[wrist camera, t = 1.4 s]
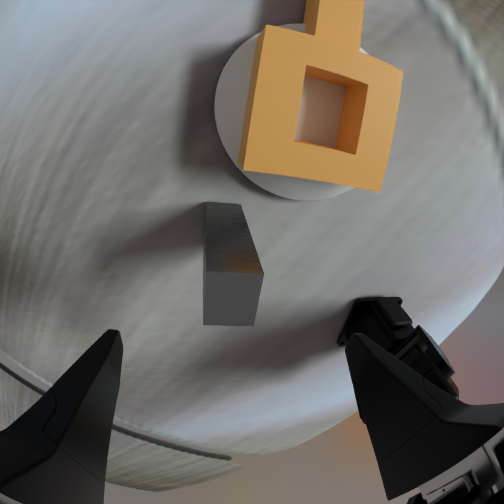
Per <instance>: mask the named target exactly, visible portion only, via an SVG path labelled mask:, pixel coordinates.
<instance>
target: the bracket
mask: <svg viewBox="0 0 504 504" xmlns="http://www.w3.org/2000/svg"><path fill="white" fill-rule="evenodd" d="M363 10H364V0H306V6H305V13H304V19H303V23H302V24H285V25H279V26H272V25H266V26H265V27H264V29H263V30H262V32H260V33H258V34H256V35H254V36H253V37H251V38H250V39H248V40H247V41H245V42H244V43H243V44H242V45H241V46H240V47H239V48H238V49H237V50H236V51H235V52H234V53H233V55H232V56H231V57H230V58H229V60H228V62H227V63H226V65H225V67H224V68H223V70H222V73H221V75H220V78H219V81H218V84H217V89H216V93H215V104H214V111H215V121H216V126H217V130H218V133H219V136H220V139H221V142H222V144H223V146H224V148H225V150H226V152H227V154H228V155H229V157H230V158H231V160H232V161H233V162H234V164H235V165H236V166H237V168H238V169H239V170H240V171H241V172H242V173H243V174H244V175H245V176H246V177H247V178H249V179H250V180H251V181H252V182H253V183H255V184H256V185H258V186H260V187H261V188H263V189H264V190H267V191H269V192H271V193H273V194H275V195H278V196H281V197H284V198H288V199H294V200H302V201H314V200H323V199H328V198H332V197H335V196H338V195H341V194H343V193H345V192H347V191H349V190H351V189H352V188H354V187H356V188H361V189H366V190H371V191H375V192H380V190H381V187H382V183H383V179H384V175H385V171H386V166H387V162H388V158H389V153H390V149H391V144H392V139H393V134H394V129H395V124H396V118H397V112H398V106H399V100H400V93H401V86H402V78H403V71H402V70H400V69H398V68H396V67H394V66H392V65H390V64H387V63H385V62H383V61H381V60H379V59H376V58H374V57H372V56H370V55H368V54H367V53H366V52H365V51H364V50H363V49H362V48H361V47H360V41H361V32H362V22H363Z"/></svg>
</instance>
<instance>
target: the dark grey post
mask: <svg viewBox="0 0 504 504" xmlns="http://www.w3.org/2000/svg"><path fill="white" fill-rule="evenodd" d="M263 276H264V272H263V269H262V266H261V263H260V260H259V257H258V254H257V251H256V248H255V246H254V243H253V240H252V237H251V234H250V231H249V228H248V225H247V222H246V219H245V216H244V213H243V210H242V207H241V205H240V204H228V203H216V202H207V207H206V218H205V231H204V251H203V325H223V326H254V321H255V316H256V311H257V306H258V301H259V296H260V291H261V286H262V281H263Z"/></svg>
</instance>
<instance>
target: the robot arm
mask: <svg viewBox="0 0 504 504" xmlns="http://www.w3.org/2000/svg"><path fill="white" fill-rule="evenodd" d="M359 303H360V304H359ZM401 304H402V299H401V298H400V297H390V298H363V299H357V300H356V301H355V303H354V305H353V307H352V309H351V312H350V314H349V316H348V319H347V321H346V323H345V325H344V327H343V330H342V332H341V334H340V336H339V338H338V340H337V344H338V346H346V348H345V354H346V358H347V362H348V366H349V371H350V375H351V379H352V383H353V387H354V393H355V397H356V401H357V406H358V410H359V415H360V418H361V419H362V421H363V423H364V424H366V426H367V429H368V432H369V435H370V439H371V442H372V445H373V448H374V452H375V455H376V459H377V462H378V466H379V470H380V473H381V477H382V481H383V485H384V488H385V492H386V496H387V499H388V500H391V499H394V498H396V497H398V496H400V495H403V494H405V493H407V492H409V491H411V490H413V489H415V488H417V487H419V490H420V493H418V494H416V495H415V496H413V497H411V498H409V500H408V502H407V504H504V403H499V404H489V405H468V404H466V403H463V402H461V401H460V400H459V390H458V387H457V386H456V384H455V383H454V382H453V380H452V379H451V376H452V375H453V374H454V373H455V371H454V369H453V368H452V366H451V365H450V363H449V361H448V359H447V358H446V356H445V354H444V353H443V351H442V350H441V349H440V347H439V346H438V345H437V343H436V342H435V341H434V340H433V338H432V337H431V336H430V335H429V334H428V333H427V332H426V331H425V330H424V329H423V328H422V327H421V326H420V325H418V326H417V327H416V328H415V329H414V328H413V326H412V325H411V324H412V320H411V318H410V317H409V316H408V315H407V313H406V312H405V311H404V310H403V308H402V307H401ZM122 357H123V344H122V339H121V335H120V332H119V331H118V330H113V329H108V330H107V331H106V332H105V333H104V334H103V335H102V336H101V337H100V338H99V339H98V340H97V341H96V342H95V343H94V344H93V345H92V346H91V347H90V348H89V349H88V350H87V351H86V352H85V353H84V354H83V355H82V356H81V357H80V358H79V359H78V360H77V361H76V362H75V363H74V364H73V365H72V366H71V367H70V368H69V369H68V370H67V371H66V372H65V373H64V374H63V375H62V376H61V377H60V378H59V379H58V380H57V381H56V382H55V384H54V385H53V386H52V387H51V388H50V389H49V390H48V391H47V392H46V393H45V394H44V395H43V396H42V397H41V398H40V399H39V400H38V401H37V402H36V403H35V404H34V405H33V406H32V407H31V408H29V409H28V410H27V411H26V412H25V413H24V414H23V415H21V416H20V417H19V418H18V419H17V420H16V421H14V422H13V423H12V424H11V425H10V426H9V427H7V428H6V429H4V430H2V431H0V504H103V503H104V487H105V483H104V482H105V475H106V466H107V457H108V450H109V443H110V436H111V429H112V423H113V418H114V412H115V407H116V402H117V397H118V392H119V385H120V375H121V365H122Z"/></svg>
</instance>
